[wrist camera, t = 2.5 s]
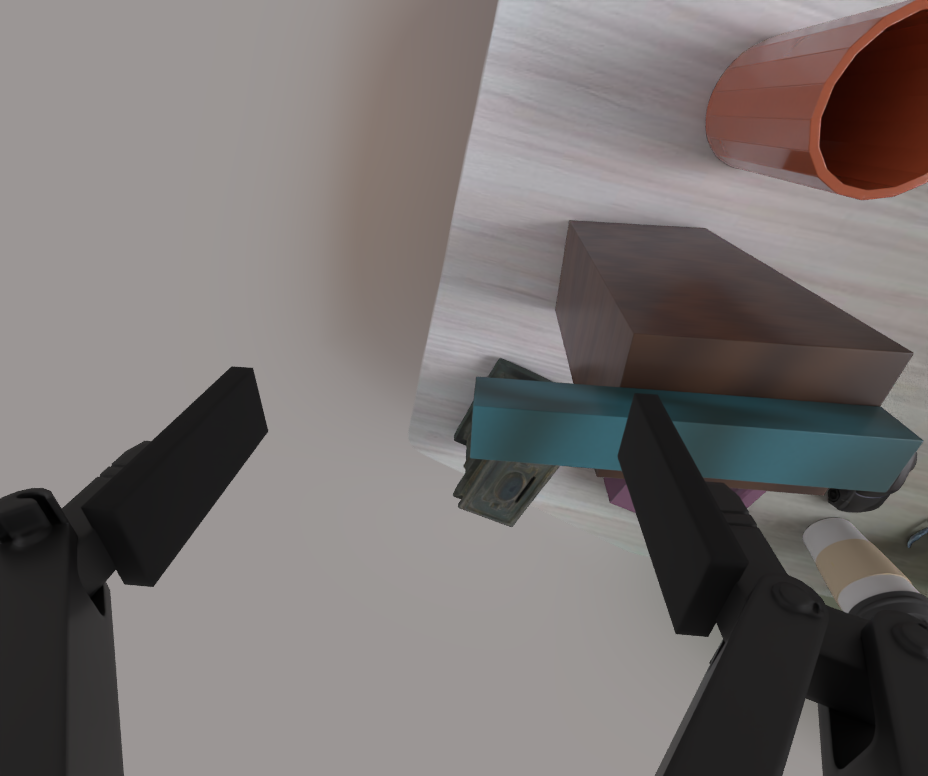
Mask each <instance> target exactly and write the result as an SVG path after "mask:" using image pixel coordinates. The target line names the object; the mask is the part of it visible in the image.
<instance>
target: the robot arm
mask: <svg viewBox="0 0 928 776" xmlns="http://www.w3.org/2000/svg"><path fill="white" fill-rule="evenodd" d="M267 432H268V429H267V425H266V420H265V416H264V412H263V408H262V404H261V399H260V395H259V391H258V387H257V383H256V379H255V375H254V370H253V368H246V367H231V368H230V369H229V370H227V371H226V372H225V373H224V374H223V375H222V376H221V377H220V378H219V379H218V380H217V381H216V382H215V383H214V384H212V385H211V386H210V387H209V388H208V389H207V390H206V391H205V392H204V393H203V394H202V395H201V396H200V397H198V398H197V399H196V400H195V401H194V402H193V403H192V404H191V405H190V406H189V407H188V408H187V409H186V410H185V411H183V412H182V414H181V415H179V416H178V417H177V418H176V419H175V420H174V421H173V422H172V423H171V424H170V425H168V426H167V427H166V428H165V429H164V430H163V431H162V432H161V433H160V434H159V435H158V436H157V437H156V438H154V439H153V441H144V442H142V443H140V444H138V445H137V446H135V447H133V448H131V449H129V450H127V451H126V452H124V454H122V455H121V456H120V457H119V458H118V459H117V460H116V461H114V462H113V463H112V466H111V467H108V468H107V469H106V470H104V471H103V472H102V473H101V474H100V477H97V478H95V479H94V480H93V481H92V482H91V483H90V484H89V485H88V486H87V487H85V488H84V489H83V490H82V491H81V492H80V493H79V494H78V495H76V496H75V497H74V498H73V499H72V500H71V501H70V502H69V503H68V504H67V505H66V506H64V507H63V508H62V509H61V507H60V505H59V504H58V502H57V501H56V499H55V497H54V496H53V494H52V492H51V491H49V490H47V489H44V488H31V489H26V490H22V491H18V492H15V493H12V494H10V495H7V496H5V497H2V498H1V499H0V776H124V772H123V758H122V745H121V731H120V717H119V704H118V692H117V691H118V690H117V677H116V665H115V664H116V663H115V650H114V637H113V623H112V610H111V596H110V589H109V587H108V585H107V583H106V580H107V579H108V578H109V577H110V576H111V575H112V573H113V572H114V571H115V570H117V572H118V574H119V576H120V577H121V579H122V581H123V583H124V584H127V585H138V586H149V587H154V585H155V584H156V582H157V581H158V580H159V578H160V577H161V576H162V574H163V573H164V572H165V570H166V569H167V567H168V566H169V565H170V564H171V562H172V561H173V560H174V558H175V557H176V555H177V554H178V553H179V551H180V550H181V549H182V547H183V546H184V545H185V543H186V542H187V540H188V539H189V538H190V537H191V535H192V534H193V532H194V531H195V530H196V528H197V527H198V526H199V524H200V523H201V522H202V520H203V519H204V518H205V516H206V515H207V514H208V512H209V511H210V509H211V508H212V507H213V505H214V504H215V503H216V501H217V500H218V499H219V497H220V496H221V495H222V493H223V492H224V491H225V489H226V488H227V486H228V485H229V484H230V482H231V481H232V480H233V478H234V477H235V476H236V474H237V473H238V472H239V470H240V469H241V468H242V466H243V465H244V463H245V462H246V461H247V459H248V458H249V457H250V455H251V454H252V453H253V451H254V450H255V449H256V447H257V446H258V445H259V443H260V442H261V440H262V439H263V438H264V436H265V435H266V434H267ZM617 457H618V460H619V463H620V467H621V470H622V473H623V476H624V479H625V482H626V485H627V488H628V491H629V494H630V497H631V500H632V503H633V506H634V509H635V512H636V515H637V518H638V521H639V524H640V527H641V530H642V533H643V536H644V539H645V542H646V545H647V548H648V551H649V554H650V557H651V560H652V563H653V566H654V569H655V572H656V575H657V578H658V581H659V584H660V588H661V591H662V594H663V597H664V600H665V603H666V606H667V608H668V612H669V615H670V618H671V621H672V624H673V627H674V630H675V633H676V634H682V635H693V636H704V637H708V636H709V634H710V633H711V631H712V629H713V627H714V625H715V624H716V623H717V625H718V627H719V630H720V632H721V635H722V637H723V641H722V642H721V644H720V646H719V648H718V649H717V651H716V653H715V654H714V656H713V658H712V660H711V661H710V666H709V668H708V670H707V672H706V674H705V676H704V678H703V680H702V682H701V684H700V686H699V688H698V690H697V692H696V694H695V696H694V698H693V700H692V702H691V704H690V706H689V708H688V710H687V712H686V714H685V716H684V718H683V720H682V722H681V724H680V726H679V728H678V730H677V732H676V734H675V736H674V738H673V740H672V742H671V744H670V747H669V748H668V750H667V752H666V754H665V756H664V758H663V760H662V762H661V764H660V766H659V768H658V770H657V772H656V774H655V776H782V775H783V771H784V768H785V765H786V761H787V758H788V755H789V751H790V747H791V745H792V741H793V738H794V735H795V731H796V728H797V725H798V721H799V718H800V715H801V711H802V708H803V705H804V701H805V698H806V699H809V700H811V701H814V702H816V703H818V712H819V727H820V740H821V755H822V769H823V776H928V624H926V623H925V622H923V621H921V620H919V619H917V618H915V617H913V616H911V615H909V614H907V613H904V612H900V611H896V610H881V611H879V612H878V613H876V614H875V615H874V616H873V617H872V618H871V620H867V619H864V618H861V617H858V616H855V615H852V614H849V613H846V612H843V611H840V610H837V609H834V608H831V607H829V606H827V605H825V603H824V601H823V600H822V598H821V597H820V596H819V595H818V594H817V593H816V592H815V591H814V590H813V589H812V588H811V587H809V586H808V585H806V584H805V583H803V582H802V581H800V580H798V579H796V578H794V577H791V576H789V575H788V574H787V573H786V571H785V570H784V568H783V567H782V565H781V563H780V562H779V560H778V558H777V557H776V555H775V553H774V552H773V550H772V549H771V547H770V545H769V544H768V542H767V540H766V539H765V537H764V536H763V534H762V532H761V531H760V529H759V528H757V526H756V525H757V524H756V523H755V521H754V519H753V518H752V516H751V515H749V511H748V510H747V508H746V506H745V505H744V503H743V501H742V500H741V498H740V497H739V496H738V495H737V494H736V493H735V492H734V491H733V490H731V489H730V488H729V487H728V486H727V485H726V484H725V483H721V482H707V481H705V480H704V479H703V477H702V475H701V473H700V471H699V469H698V468H697V466H696V464H695V462H694V460H693V458H692V457H691V455H690V453H689V451H688V449H687V447H686V446H685V444H684V442H683V440H682V438H681V436H680V435H679V433H678V431H677V429H676V427H675V426H674V424H673V422H672V420H671V418H670V416H669V415H668V413H667V411H666V409H665V407H664V405H663V404H662V402H661V400H660V398H659V396H658V395H657V394H642V393H634V396H633V400H632V404H631V407H630V411H629V415H628V418H627V422H626V426H625V430H624V433H623V437H622V441H621V444H620V448H619V452H618V456H617Z"/></svg>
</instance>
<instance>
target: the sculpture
mask: <svg viewBox="0 0 928 776" xmlns="http://www.w3.org/2000/svg"><path fill="white" fill-rule="evenodd" d="M927 532H928V527H927V528H924V529H922V530H921V531H919V532H918V533H916V534H915V535H913V536H911V538H910V539H909V541H908V548H910V547H911V545H912V543H913V542H915V541H916V540H918V539H919V538H920V537H921V536H923V535H924V534H926V533H927Z"/></svg>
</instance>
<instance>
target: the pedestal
mask: <svg viewBox="0 0 928 776" xmlns="http://www.w3.org/2000/svg"><path fill="white" fill-rule="evenodd" d="M555 311H556V315H557V319H558V323H559V327H560V331H561V335H562V339H563V343H564V347H565V351H566V355H567V359H568V363H569V367H570V371H571V375H572V379H573V383H574V384H583V385H597V386H610V387H623V388H637V389H650V390H664V391H677V392H690V393H704V394H717V395H731V396H744V397H757V398H771V399H784V400H798V401H811V402H825V403H838V404H851V405H865V406H878V407H880V406H881V404H882V403H883V401H884V400H885V398H886V396H887V395H888V393H889V392H890V390H891V389H892V387H893V385H894V384H895V382H896V381H897V379H898V378H899V376H900V374H901V373H902V371H903V370H904V368H905V367H906V365H907V363H908V362H909V360H910V359H911V357H912V356H913V352H911V351H910V350H908V349H906V348H905V347H903V346H901V345H900V344H898V343H896V342H895V341H893V340H891V339H890V338H888V337H886V336H885V335H883V334H881V333H880V332H878V331H876V330H875V329H873V328H871V327H870V326H868V325H866V324H865V323H863V322H861V321H860V320H858V319H856V318H855V317H853V316H851V315H850V314H848V313H846V312H845V311H843V310H841V309H840V308H838V307H836V306H835V305H833V304H831V303H830V302H828V301H826V300H825V299H823V298H821V297H820V296H818V295H816V294H814V293H813V292H811V291H809V290H808V289H806V288H804V287H803V286H801V285H799V284H798V283H796V282H794V281H793V280H791V279H789V278H788V277H786V276H784V275H783V274H781V273H779V272H778V271H776V270H774V269H773V268H771V267H769V266H768V265H766V264H764V263H763V262H761V261H759V260H758V259H756V258H754V257H753V256H751V255H749V254H748V253H746V252H744V251H743V250H741V249H739V248H738V247H736V246H734V245H733V244H731V243H729V242H728V241H726V240H724V239H723V238H721V237H719V236H718V235H716V234H714V233H713V232H711V231H709V230H708V229H706V228H690V227H673V226H656V225H639V224H622V223H605V222H588V221H571V220H570V221H569V226H568V232H567V238H566V245H565V251H564V258H563V264H562V270H561V277H560V283H559V289H558V296H557V302H556V309H555ZM595 472H596V476H597V477H606V478H618V479H624V476H623V473H622V471H618V470H606V469H595ZM703 479H704V480H705V481H707V482H721V483H725V484H726V485H727V486H728V487H729V488H738V489H750V490H762V491H774V492H786V493H798V494H810V495H822V496H823V495H824V494H825V492H826V491H827V489H828V488H824V487H811V486H799V485H787V484H775V483H763V482H751V481H739V480H727V479H715V478H703Z"/></svg>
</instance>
